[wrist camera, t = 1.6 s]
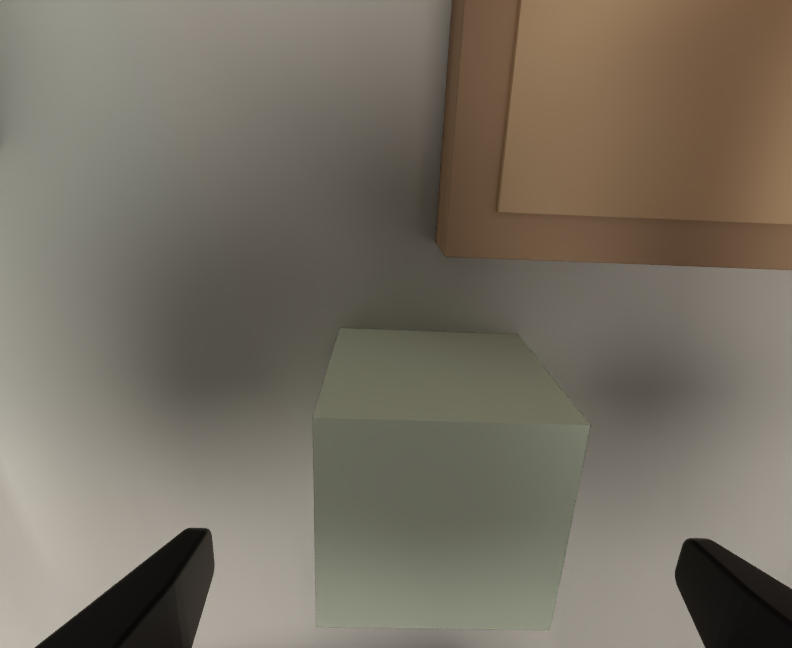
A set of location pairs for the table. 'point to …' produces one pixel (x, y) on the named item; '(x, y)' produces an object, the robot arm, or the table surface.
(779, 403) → the table surface
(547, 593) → the sage cube
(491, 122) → the brown wooden tray
